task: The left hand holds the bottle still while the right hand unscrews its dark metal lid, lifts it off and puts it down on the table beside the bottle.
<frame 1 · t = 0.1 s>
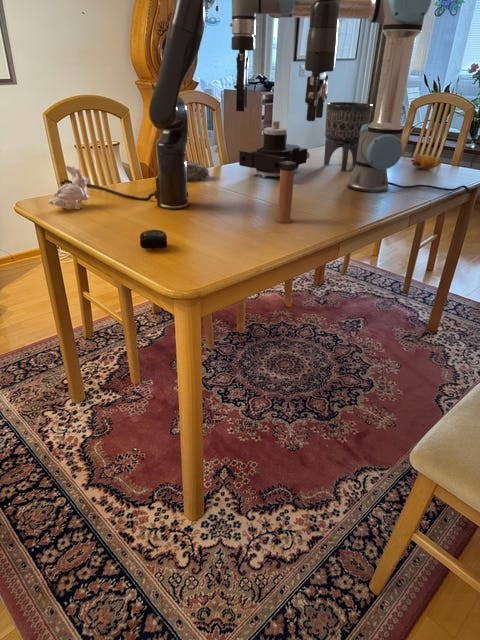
left hand: (314, 119, 123), 29 cm above the table, tool pointing down, fingers open, 8 cm apart
right hand: (241, 109, 155), 28 cm above the table, tool pointing down, fingers open, 13 cm apart
figurine: (71, 207, 147), on the table
tape measure: (155, 248, 118), on the table
rock: (194, 179, 184), on the table
toy: (423, 168, 212), on the table
lid: (287, 163, 131), point 17 cm above the table, screwed on, not yet turned
mechanical component: (280, 173, 196), on the table
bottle: (283, 221, 139), on the table
planter: (341, 167, 211), on the table
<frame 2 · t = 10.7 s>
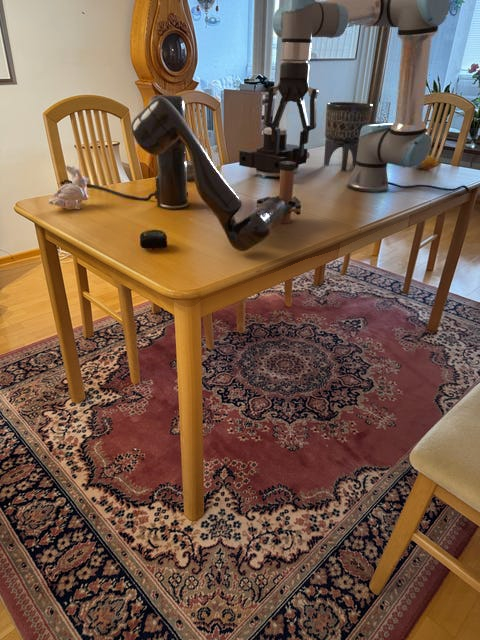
left hand: (287, 199, 139), 6 cm above the table, tool horizontal, fingers closed on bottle, 4 cm apart
right hand: (288, 154, 130), 20 cm above the table, tool pointing down, fingers open, 7 cm apart
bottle: (283, 221, 139), on the table, touching left hand
everything else where it was.
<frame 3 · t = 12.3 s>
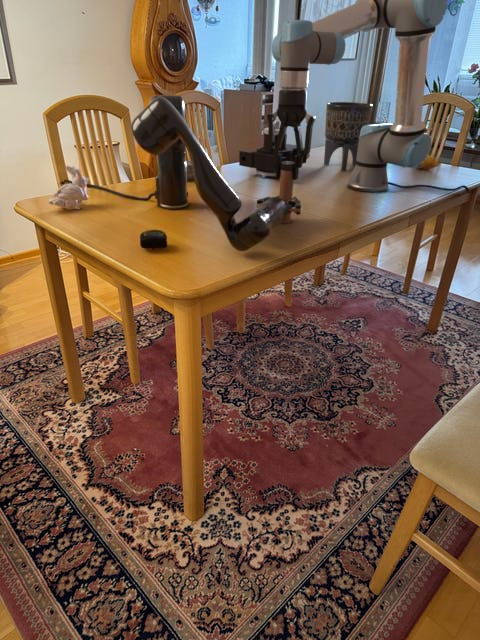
left hand: (287, 199, 139), 6 cm above the table, tool horizontal, fingers closed on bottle, 4 cm apart
right hand: (286, 178, 133), 13 cm above the table, tool pointing down, fingers closed on lid, 4 cm apart
lid: (287, 163, 131), point 17 cm above the table, screwed on, not yet turned, touching right hand
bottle: (283, 221, 139), on the table, touching left hand
everything else where it was.
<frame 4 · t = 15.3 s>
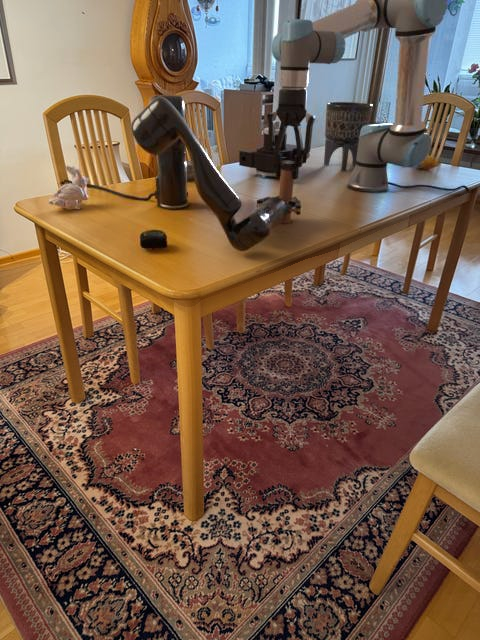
left hand: (287, 199, 139), 6 cm above the table, tool horizontal, fingers closed on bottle, 4 cm apart
right hand: (286, 177, 133), 13 cm above the table, tool pointing down, fingers closed on lid, 4 cm apart
lid: (287, 163, 131), point 17 cm above the table, turned 82° so far, risen 0.1 cm, still on its thread, touching right hand
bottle: (283, 221, 139), on the table, touching left hand
everything else where it was.
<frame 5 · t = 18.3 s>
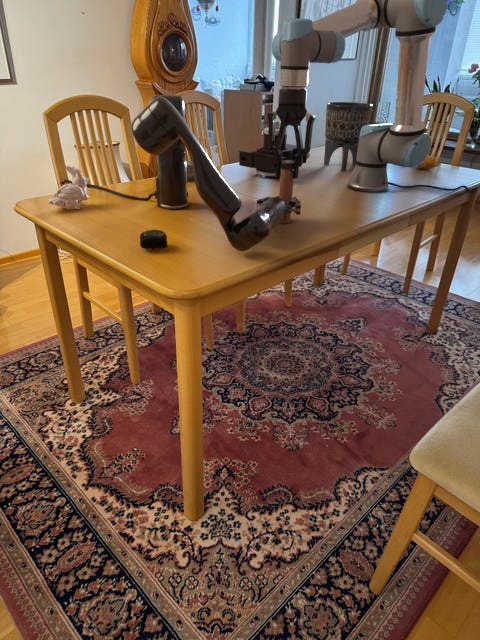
left hand: (287, 199, 139), 6 cm above the table, tool horizontal, fingers closed on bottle, 4 cm apart
right hand: (286, 177, 133), 13 cm above the table, tool pointing down, fingers closed on lid, 4 cm apart
lid: (287, 162, 131), point 17 cm above the table, turned 163° so far, risen 0.3 cm, still on its thread, touching right hand
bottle: (283, 221, 139), on the table, touching left hand
everything else where it was.
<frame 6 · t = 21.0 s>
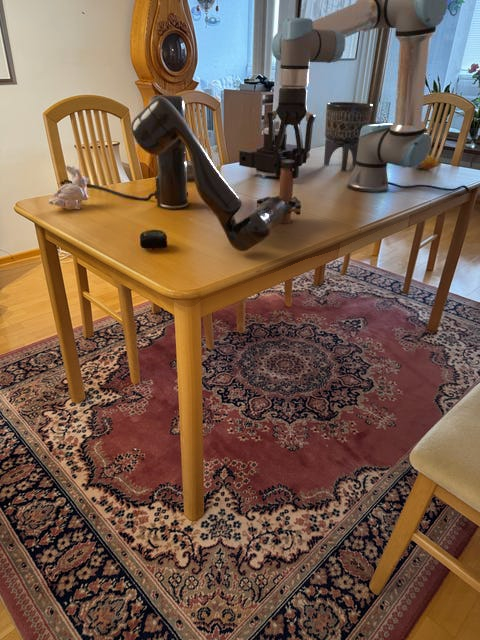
left hand: (287, 199, 139), 6 cm above the table, tool horizontal, fingers closed on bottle, 4 cm apart
right hand: (287, 176, 133), 13 cm above the table, tool pointing down, fingers closed on lid, 4 cm apart
lid: (287, 162, 131), point 17 cm above the table, turned 245° so far, risen 0.4 cm, still on its thread, touching right hand
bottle: (283, 221, 139), on the table, touching left hand
everything else where it was.
when the right hand's fingers open (0 cm above the table, at t = 30.2 s): lid drops 3 cm, point 1 cm above the table.
when the left hand's fingers open (6 cm above the table, at t = 30.8 s): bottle stays where it is, on the table.
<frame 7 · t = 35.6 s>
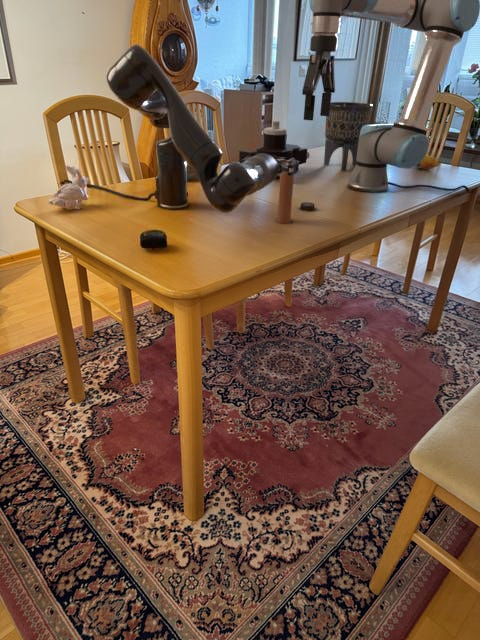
left hand: (277, 160, 121), 20 cm above the table, tool horizontal, fingers open, 8 cm apart
right hand: (316, 118, 137), 28 cm above the table, tool pointing down, fingers open, 13 cm apart
lid: (307, 205, 150), point 1 cm above the table, off its thread
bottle: (283, 221, 139), on the table
everything else where it was.
at the end: lid came off its thread; lid point 1.3 cm above the table; the left hand is holding nothing; the right hand is holding nothing; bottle tilted 0°; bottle moved 0.0 cm from its start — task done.
